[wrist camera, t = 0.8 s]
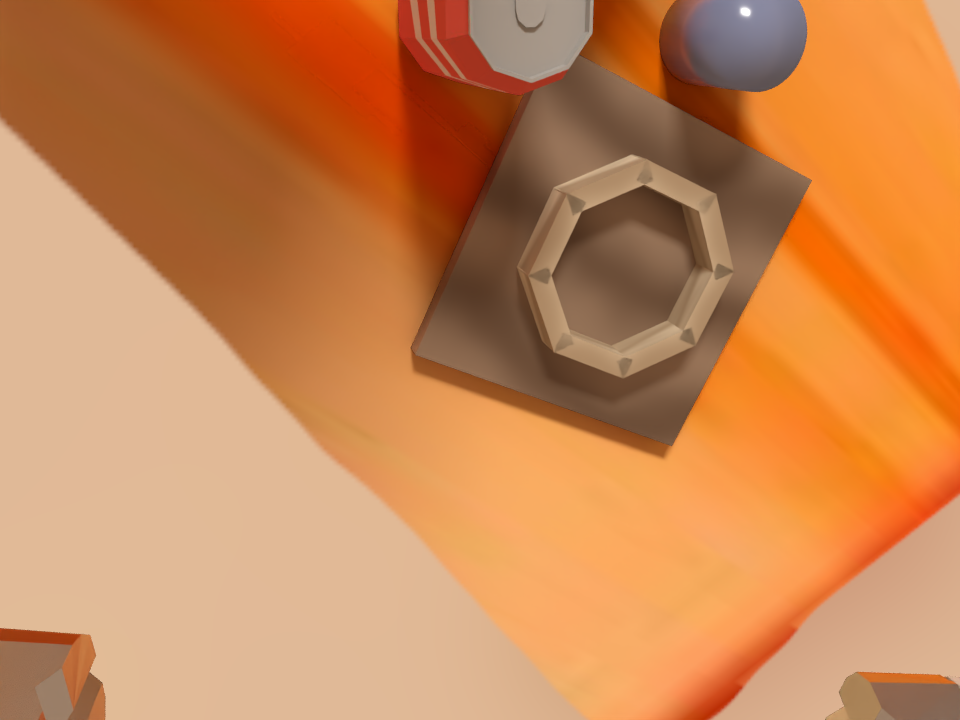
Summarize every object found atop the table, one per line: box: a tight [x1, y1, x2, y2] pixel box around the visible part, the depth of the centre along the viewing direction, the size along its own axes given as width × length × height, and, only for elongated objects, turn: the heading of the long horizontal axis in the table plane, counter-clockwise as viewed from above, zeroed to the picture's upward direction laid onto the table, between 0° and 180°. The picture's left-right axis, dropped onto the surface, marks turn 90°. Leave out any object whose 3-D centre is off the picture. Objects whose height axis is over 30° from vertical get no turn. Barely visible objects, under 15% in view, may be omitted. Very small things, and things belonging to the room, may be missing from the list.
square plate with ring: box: [411, 54, 812, 446], centre depth 50 cm, size 18×18×3 cm
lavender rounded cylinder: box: [659, 0, 807, 92], centre depth 46 cm, size 5×5×6 cm
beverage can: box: [398, 0, 594, 95], centre depth 39 cm, size 6×6×12 cm
